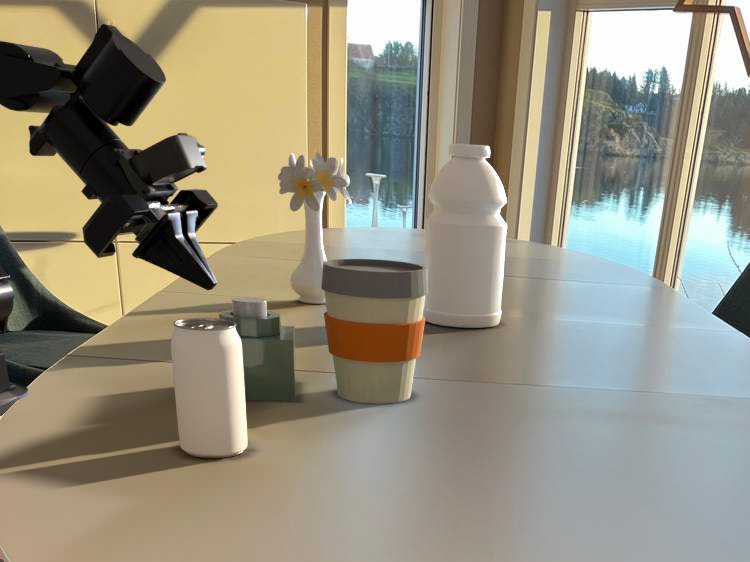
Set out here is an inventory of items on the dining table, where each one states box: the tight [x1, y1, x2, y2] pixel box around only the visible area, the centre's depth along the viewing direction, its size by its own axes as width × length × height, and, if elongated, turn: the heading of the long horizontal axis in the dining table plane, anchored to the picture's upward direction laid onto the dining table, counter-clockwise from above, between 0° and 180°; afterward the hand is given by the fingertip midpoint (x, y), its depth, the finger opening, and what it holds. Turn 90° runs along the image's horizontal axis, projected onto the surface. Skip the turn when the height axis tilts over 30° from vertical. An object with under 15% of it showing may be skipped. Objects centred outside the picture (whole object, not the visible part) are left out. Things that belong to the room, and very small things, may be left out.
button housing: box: [218, 309, 297, 402], centre depth 112 cm, size 10×9×9 cm
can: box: [170, 317, 249, 459], centre depth 90 cm, size 6×6×12 cm
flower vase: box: [277, 152, 352, 305], centre depth 172 cm, size 13×18×25 cm
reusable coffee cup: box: [321, 258, 428, 405], centre depth 113 cm, size 13×13×15 cm
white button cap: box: [231, 296, 268, 318], centre depth 110 cm, size 4×4×2 cm
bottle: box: [422, 142, 508, 329], centre depth 161 cm, size 14×14×28 cm
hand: (213, 287), depth 98 cm, fingers closed
